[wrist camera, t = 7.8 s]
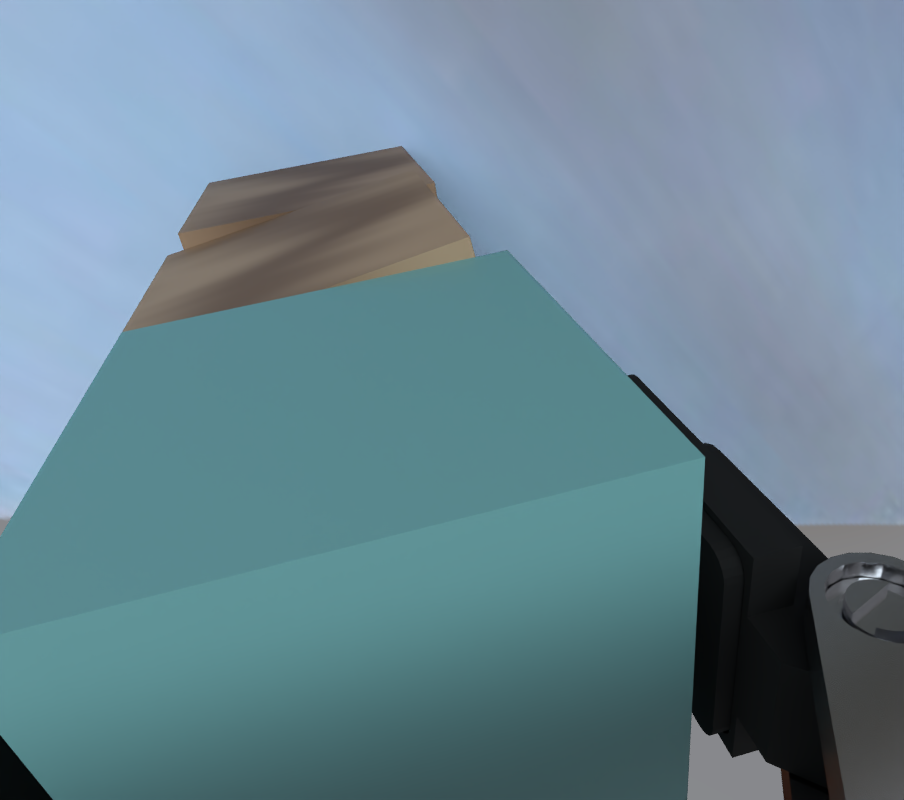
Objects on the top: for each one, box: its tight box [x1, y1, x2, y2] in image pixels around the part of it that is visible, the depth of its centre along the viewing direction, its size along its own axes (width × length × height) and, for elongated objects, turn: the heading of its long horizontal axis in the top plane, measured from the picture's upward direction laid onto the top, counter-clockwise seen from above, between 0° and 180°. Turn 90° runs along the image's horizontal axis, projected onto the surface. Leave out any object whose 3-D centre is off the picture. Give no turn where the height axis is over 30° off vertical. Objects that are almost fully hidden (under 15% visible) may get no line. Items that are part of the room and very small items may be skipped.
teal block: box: [0, 250, 705, 800], centre depth 9 cm, size 6×6×6 cm
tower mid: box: [123, 169, 475, 332], centre depth 14 cm, size 6×6×6 cm
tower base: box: [178, 146, 437, 250], centre depth 20 cm, size 6×6×6 cm
